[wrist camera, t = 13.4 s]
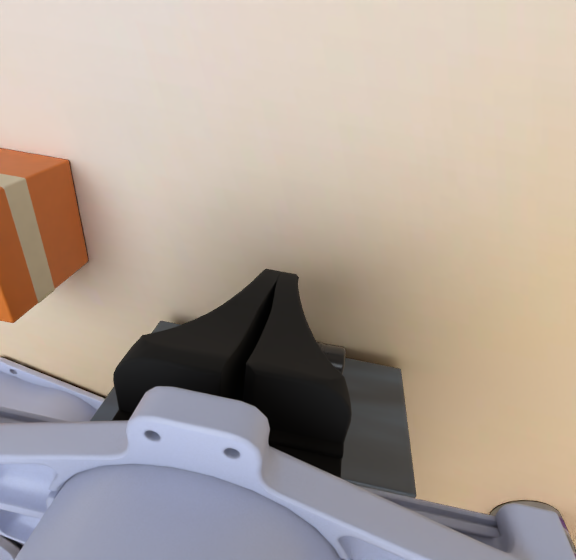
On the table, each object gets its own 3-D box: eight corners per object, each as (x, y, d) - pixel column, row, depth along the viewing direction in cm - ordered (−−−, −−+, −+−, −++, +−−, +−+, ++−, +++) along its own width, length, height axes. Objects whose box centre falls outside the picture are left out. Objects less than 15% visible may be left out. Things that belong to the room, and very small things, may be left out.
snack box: (-11, 145, 18) (-135, 181, 14) (69, 159, 18) (-31, 201, 13) (20, 248, 21) (-73, 306, 17) (89, 261, 21) (14, 324, 16)
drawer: (154, 254, 19) (67, 347, 13) (426, 306, 18) (457, 429, 12) (171, 458, 29) (125, 562, 23) (348, 498, 28) (345, 617, 22)
